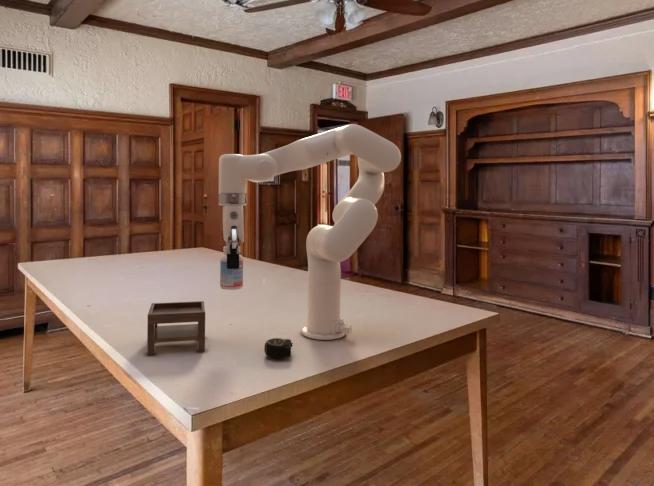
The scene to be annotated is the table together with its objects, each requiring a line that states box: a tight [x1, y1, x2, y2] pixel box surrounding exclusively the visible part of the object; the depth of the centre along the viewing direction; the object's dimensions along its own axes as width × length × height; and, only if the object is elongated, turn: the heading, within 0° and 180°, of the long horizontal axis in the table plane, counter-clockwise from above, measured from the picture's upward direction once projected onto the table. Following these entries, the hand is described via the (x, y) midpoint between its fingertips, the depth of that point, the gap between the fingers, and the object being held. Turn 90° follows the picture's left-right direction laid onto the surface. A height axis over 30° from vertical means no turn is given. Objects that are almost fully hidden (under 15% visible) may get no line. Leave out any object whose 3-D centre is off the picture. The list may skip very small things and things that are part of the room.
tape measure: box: [263, 337, 294, 359], centre depth 116 cm, size 7×7×4 cm
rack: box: [146, 300, 206, 356], centre depth 122 cm, size 14×12×10 cm
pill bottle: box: [219, 245, 244, 291], centre depth 126 cm, size 6×6×11 cm
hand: (231, 265), depth 126 cm, fingers closed on pill bottle, 6 cm apart
